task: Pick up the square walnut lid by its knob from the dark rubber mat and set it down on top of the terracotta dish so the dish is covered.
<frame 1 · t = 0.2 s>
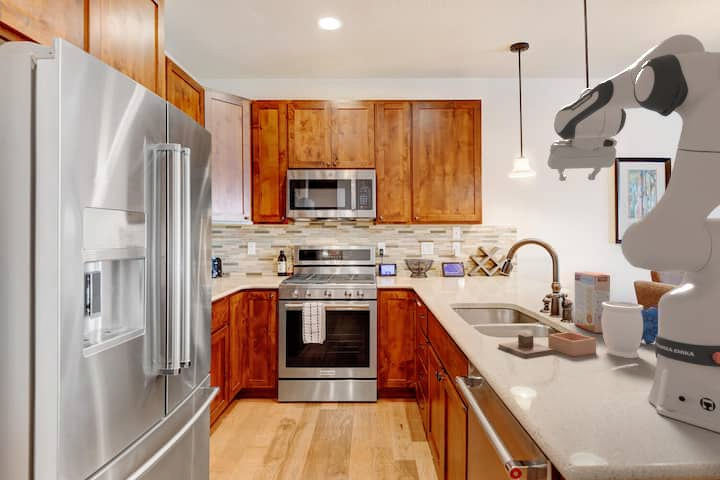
hand: (576, 180, 139), 54 cm above the countertop, tool tilted 30°, fingers open, 8 cm apart
dish: (571, 353, 123), on the countertop
grapes: (648, 343, 133), on the countertop
mat: (525, 352, 124), on the countertop
cracker box: (591, 329, 153), on the countertop
jar: (621, 355, 121), on the countertop
lid: (525, 350, 124), point 1 cm above the countertop, touching mat
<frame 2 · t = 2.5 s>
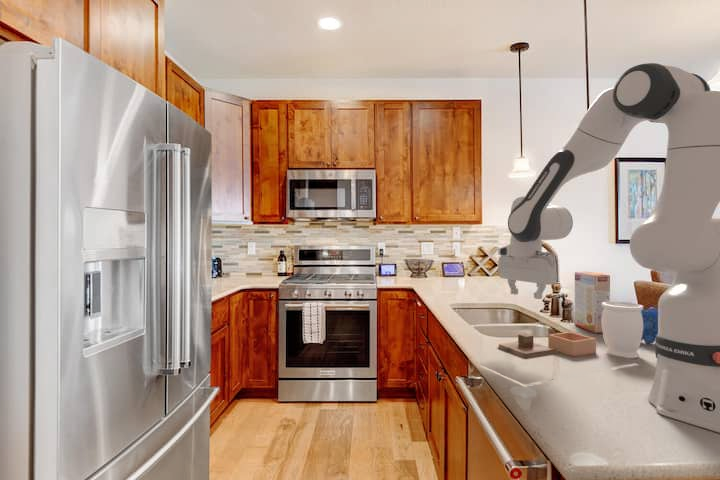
hand: (525, 296, 123), 17 cm above the countertop, tool pointing down, fingers open, 8 cm apart
nothing on the countertop moved.
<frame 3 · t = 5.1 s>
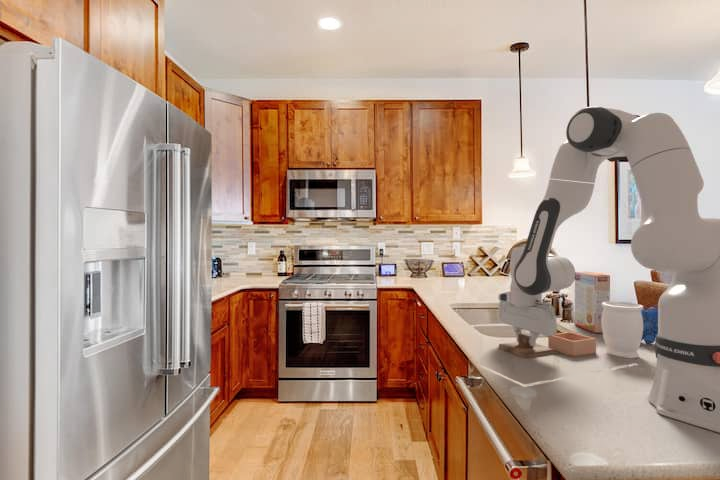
hand: (525, 343, 124), 3 cm above the countertop, tool pointing down, fingers closed on lid, 3 cm apart
lid: (525, 350, 124), point 1 cm above the countertop, touching gripper, mat
everything else where it was.
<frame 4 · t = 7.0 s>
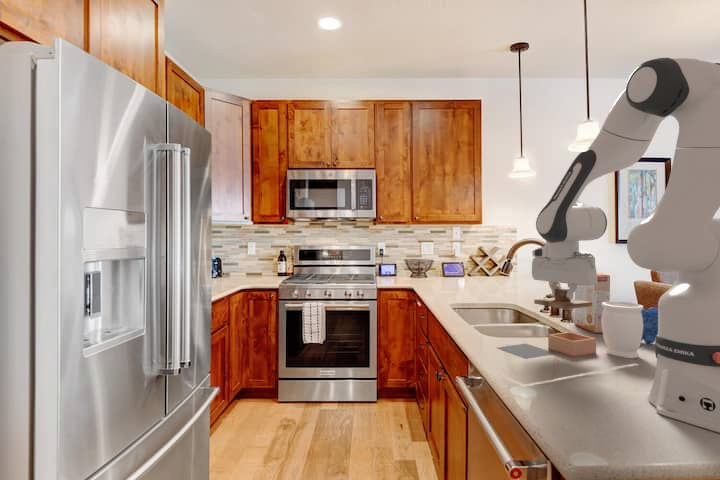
hand: (562, 297, 122), 17 cm above the countertop, tool pointing down, fingers closed on lid, 3 cm apart
lid: (562, 304, 122), point 15 cm above the countertop, touching gripper
everything else where it was.
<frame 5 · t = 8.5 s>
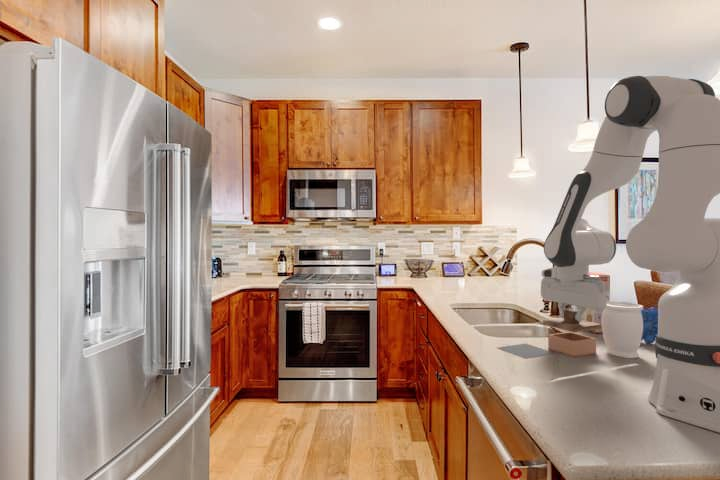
hand: (571, 319, 123), 10 cm above the countertop, tool pointing down, fingers closed on lid, 3 cm apart
lid: (571, 326, 123), point 8 cm above the countertop, touching gripper
everything else where it was.
when the fingers open (9 cm above the countertop, at t = 9.5 s): lid drops 1 cm, resting on dish.
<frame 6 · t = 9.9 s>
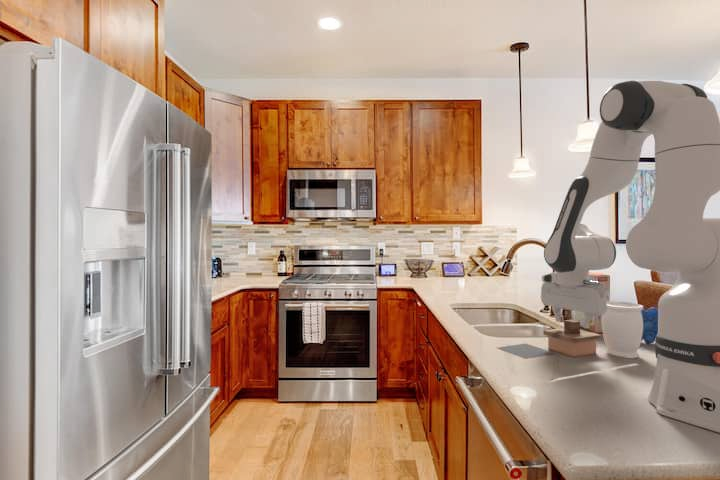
hand: (571, 324, 122), 9 cm above the countertop, tool pointing down, fingers open, 8 cm apart
lid: (572, 336, 122), point 5 cm above the countertop, touching dish
everything else where it was.
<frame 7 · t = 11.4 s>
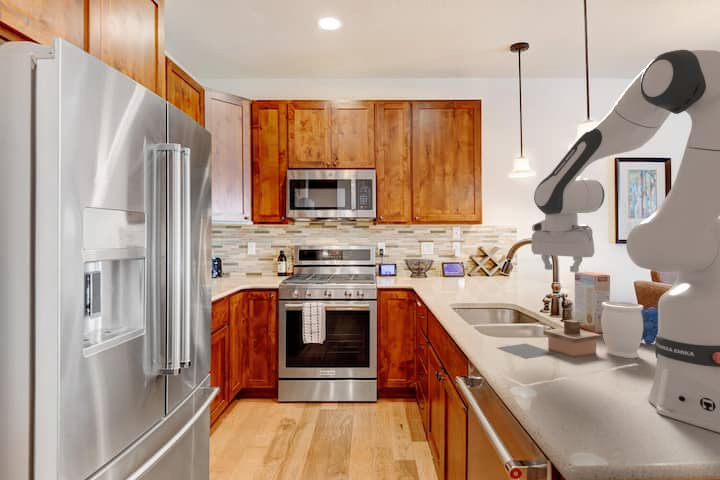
hand: (561, 270, 125), 24 cm above the countertop, tool pointing down, fingers open, 8 cm apart
nothing on the countertop moved.
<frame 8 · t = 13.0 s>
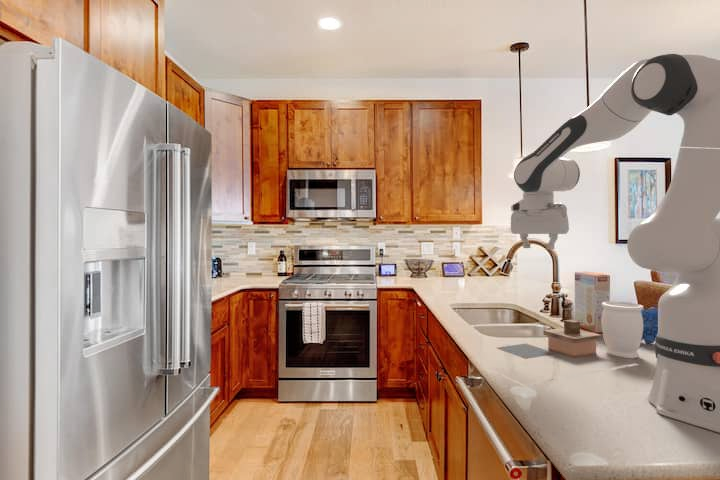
hand: (538, 248, 129), 31 cm above the countertop, tool pointing down, fingers open, 8 cm apart
nothing on the countertop moved.
at the end: lid 0.1 cm off-centre on the dish, point 5.0 cm above the dish's base; lid tilted 0°; the gripper is holding nothing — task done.
